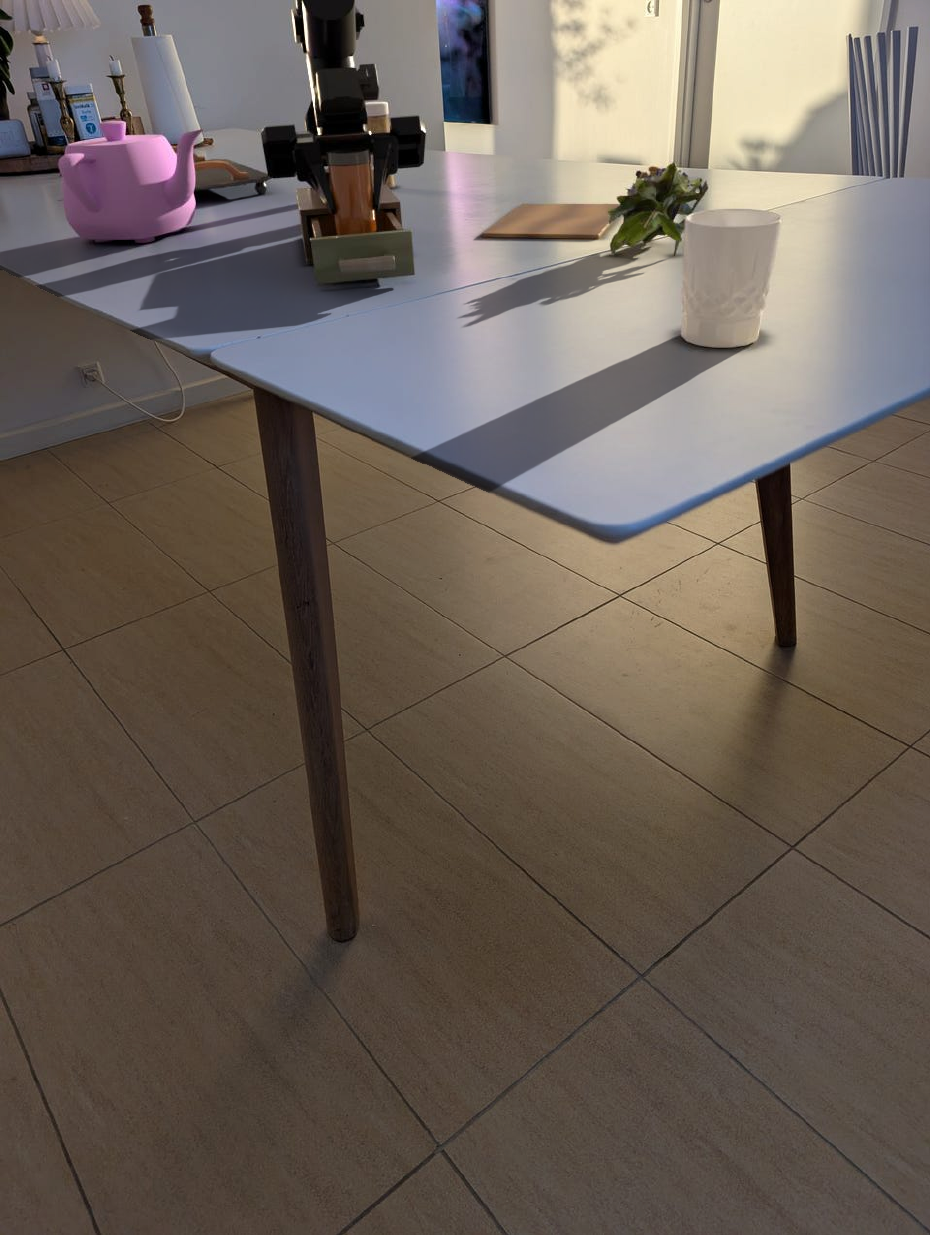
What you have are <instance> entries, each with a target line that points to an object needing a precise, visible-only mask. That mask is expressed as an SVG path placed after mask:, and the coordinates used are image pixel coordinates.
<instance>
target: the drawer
mask: <svg viewBox="0 0 930 1235" xmlns="http://www.w3.org/2000/svg"><path fill="white" fill-rule="evenodd" d="M375 217H376V227H377V232H374V233H363V234H351V235H340V236H336V227H335V219H334V215H331V214H322V215H310V219H311V226H312V233H313V238H310V241H311V248H312V255H313V263H314V265H313V269H314V277H315V283H316V285H325V284H336V283H348V282H357V281H358V282H359V281H366V280H377V279H387V278H399V277H409V276H415V275H416V273H415V272H416V271H415V257H414V246H413V244H414V243H413V231H412V230H411V229H409V228H408V229H404V227H403V225H402V226H401V225H400V223H399V222H398V220H397V219H396V217H395V216H394V215H393V213H392V212H391V210H390V209H381V210H379V211H375Z"/></svg>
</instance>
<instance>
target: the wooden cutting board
mask: <svg viewBox="0 0 930 1235" xmlns="http://www.w3.org/2000/svg"><path fill="white" fill-rule="evenodd" d="M619 205H620V203H521V204H519V205H518V206H517V207H516V208H514V209H513V210H511V211H510V212H509V213H508V214H506V215H505V216H504V217H502V218H501V219H499V220H498V221H496V222H495V223H494V224H493V225H492V226H490V227H489V228H487V229H486V230H485V231H483V232H482V233H481V238H514V239H515V238H516V239H517V238H519V239H520V238H521V239H524V238H525V239H526V238H527V239H586V240H587V239H591V240H593V239H594V240H595V239H596V240H597V239H598V240H599V239H601V237H602V236H603V234H604V233H605V232H606V231H607V230H608V229H609V227H610V226H611V225H612V224H613V223H614V221H612V222H611V224H609V218H610V216H611V215H609V214H608V209H613V208H616V207H618V206H619Z"/></svg>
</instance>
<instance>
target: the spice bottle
mask: <svg viewBox="0 0 930 1235" xmlns="http://www.w3.org/2000/svg"><path fill="white" fill-rule="evenodd" d="M326 160H327V164H328V166H327V169H329V177H330V186H331V193H332V196H333V203H334V210H335V214H334V219H335V227H336V236H340V235H351V234H363V233H374V232H377V227H376V217H375V207H374V196H373V185H372V175H371V164H370V161H371V155H370V149H368V148H342V149H334V150H329V151H327V152H326Z"/></svg>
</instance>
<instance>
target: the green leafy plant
mask: <svg viewBox="0 0 930 1235" xmlns="http://www.w3.org/2000/svg"><path fill="white" fill-rule="evenodd" d="M647 170H648V172H647V171H642V170H637V171H636V172H635V177H636V179H635V182H633V183H632V185H631V186H630V187H629V188H624V189H625V190H627V192H626V194H627V195H618V196H616V201H617V202H618V204H620V205H619V206H618V207H616V208H613V209H608V214H609V215H611V216H610V218H609V224H611V222H612V221H613V222H614V221H615V220H616V219H617V218H620V217H623V219H622V220H623V221H622V223H621V225H620V226H619V228H618V230H617V232H616V233H615V234H614V235H613V237H612V239H611V241H610V243H609V248H610V249H609V250H610V252H611V254H612V256H615V254H616V251H618V250H619V249H620V248H622V247H624V246H628V247H629V248H630V247H635V245H638V244H639V243H641V242H642V243H644V244H647V243H651V242H652V241H653V240H654V238H656V237H658V236H667V237H669V238H670V239H672V240H674V241H675V244H674V249H673V250H674V251H673V255H672V256H673V257H675V256H676V255H677V251H678V248H679V246H680V243H681V242H682V241H683V239H682V235H683V233H684V221H685V218H684V219H682V221H680V222H676V221H675V219H676V217H677V216H678V215H680V216H687V215H689V214H692V213H694V211H695V209H696V207H697V206H698V205H699V203H700V202H701V200H702V198H704V196H705V195H706V193H707V191H708V190H709V185H708V183H707V182H708V181H707V179H706V180H705V181H704V183H703V185H702V182H703V178H702V177H698V178H696V179H694V180H690V179H689V175H688V174H686V172H684V171H683V172H682V170H681V169H679V170H678V165H677V164H676V162H675V161H672V163H669V164H668V165H666V167H662V168H661V167H658V166H653V165H651V166H649V167H648V168H647ZM690 186H691V187H692V189H690V190H689V189H688V187H690ZM697 189H698V190H699V191H698V190H697ZM693 201H695V202H694V203H693V205H692V206H691V205H690V204H689V203H690V202H693ZM613 222H612V223H613ZM611 225H612V224H611Z"/></svg>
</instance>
